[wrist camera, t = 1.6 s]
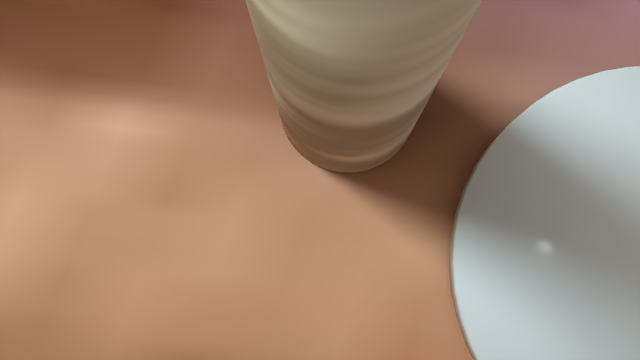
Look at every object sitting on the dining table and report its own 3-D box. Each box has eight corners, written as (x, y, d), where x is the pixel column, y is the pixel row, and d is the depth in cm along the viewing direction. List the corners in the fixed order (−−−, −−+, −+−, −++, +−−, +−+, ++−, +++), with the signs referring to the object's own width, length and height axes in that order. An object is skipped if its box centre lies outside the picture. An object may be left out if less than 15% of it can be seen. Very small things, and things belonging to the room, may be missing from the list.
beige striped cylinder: (443, 120, 23) (687, -230, 7) (333, 199, 22) (341, 11, 7) (361, 16, 23) (423, -504, 8) (253, 92, 23) (96, -301, 7)
